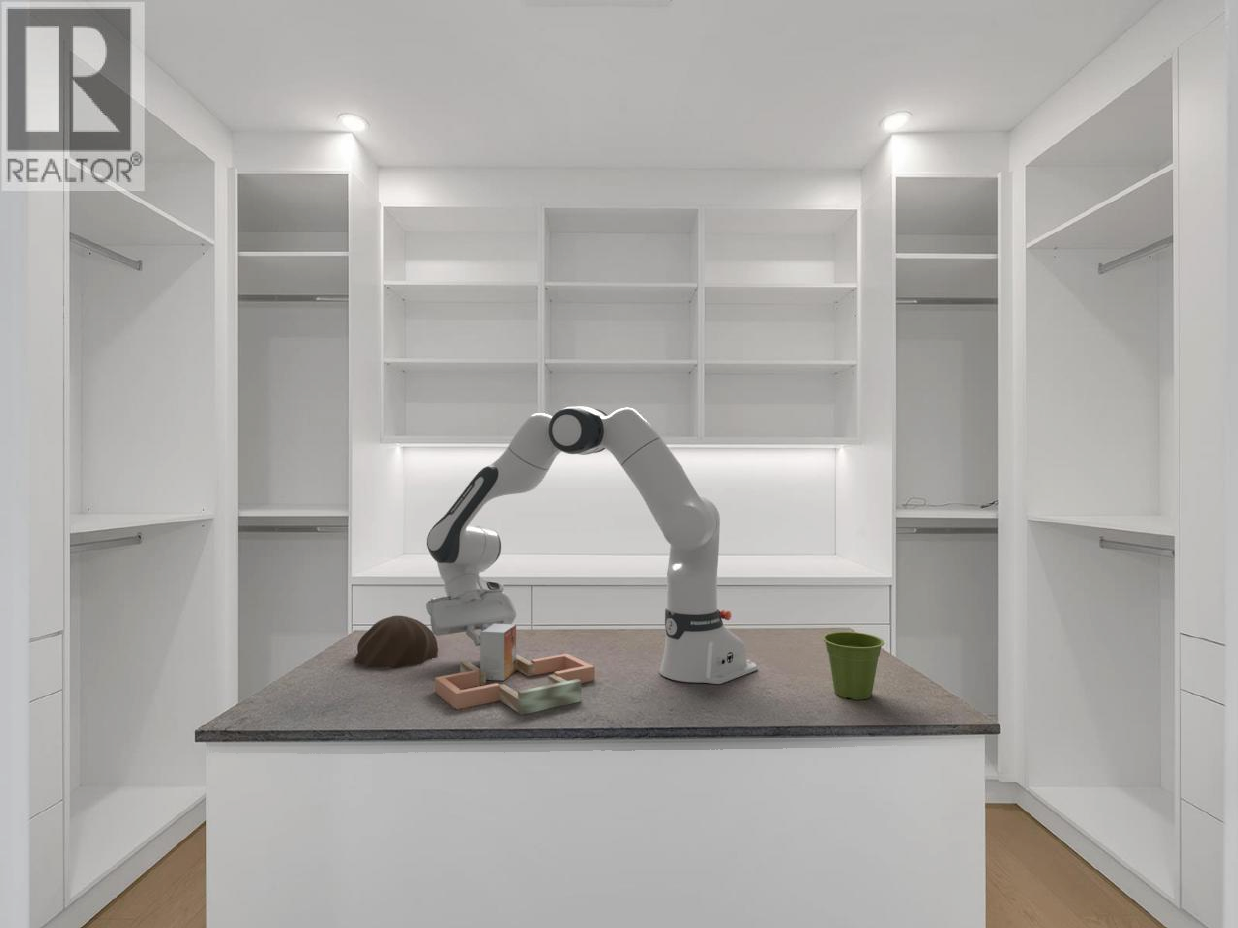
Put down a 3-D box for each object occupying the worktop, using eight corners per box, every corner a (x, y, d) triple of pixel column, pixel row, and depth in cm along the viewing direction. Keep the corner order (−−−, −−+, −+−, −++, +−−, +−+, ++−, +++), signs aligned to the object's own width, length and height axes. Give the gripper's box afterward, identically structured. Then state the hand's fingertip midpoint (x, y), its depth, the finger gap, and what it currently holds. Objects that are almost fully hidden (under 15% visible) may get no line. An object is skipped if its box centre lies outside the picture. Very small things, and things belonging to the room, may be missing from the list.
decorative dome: (335, 662, 165) (335, 619, 165) (398, 642, 182) (398, 604, 182) (396, 673, 156) (395, 629, 156) (455, 651, 174) (455, 611, 173)
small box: (504, 681, 150) (504, 632, 150) (479, 680, 151) (479, 631, 151) (517, 670, 158) (516, 623, 158) (493, 668, 159) (493, 622, 159)
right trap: (566, 666, 161) (566, 653, 160) (594, 680, 151) (594, 666, 151) (531, 673, 155) (531, 659, 155) (557, 687, 146) (557, 673, 146)
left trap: (476, 683, 148) (476, 669, 148) (500, 700, 138) (500, 685, 138) (434, 691, 143) (434, 677, 143) (456, 709, 133) (456, 693, 133)
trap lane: (513, 663, 163) (513, 646, 163) (581, 701, 138) (581, 680, 138) (460, 673, 156) (460, 655, 156) (521, 714, 130) (521, 693, 130)
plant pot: (810, 692, 143) (810, 637, 143) (845, 681, 150) (845, 628, 150) (861, 709, 133) (861, 650, 133) (896, 696, 141) (896, 640, 140)
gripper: (427, 591, 162) (442, 643, 154) (508, 582, 173) (526, 630, 165) (421, 607, 166) (435, 658, 158) (500, 597, 177) (518, 644, 169)
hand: (482, 643), depth 162 cm, fingers closed
